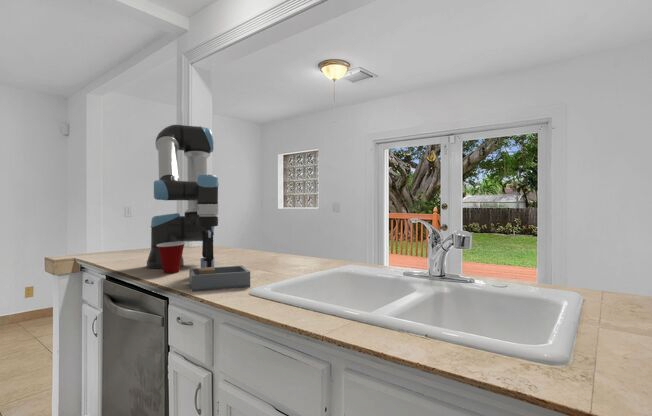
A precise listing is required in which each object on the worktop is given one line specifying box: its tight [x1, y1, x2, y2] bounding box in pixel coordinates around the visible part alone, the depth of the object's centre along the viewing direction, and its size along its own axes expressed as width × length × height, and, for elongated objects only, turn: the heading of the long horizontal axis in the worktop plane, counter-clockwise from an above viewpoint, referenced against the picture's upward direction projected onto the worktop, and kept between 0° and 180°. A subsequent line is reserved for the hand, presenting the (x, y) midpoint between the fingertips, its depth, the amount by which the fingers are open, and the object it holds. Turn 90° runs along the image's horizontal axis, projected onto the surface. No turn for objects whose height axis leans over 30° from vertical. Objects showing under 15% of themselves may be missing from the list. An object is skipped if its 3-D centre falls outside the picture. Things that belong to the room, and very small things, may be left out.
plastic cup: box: [156, 242, 186, 274], centre depth 147 cm, size 11×11×12 cm
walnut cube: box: [197, 267, 215, 275], centre depth 121 cm, size 5×5×5 cm
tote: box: [188, 265, 251, 293], centre depth 123 cm, size 14×18×5 cm
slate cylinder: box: [200, 257, 216, 268], centre depth 137 cm, size 5×5×7 cm
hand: (207, 276), depth 137 cm, fingers open, 8 cm apart
